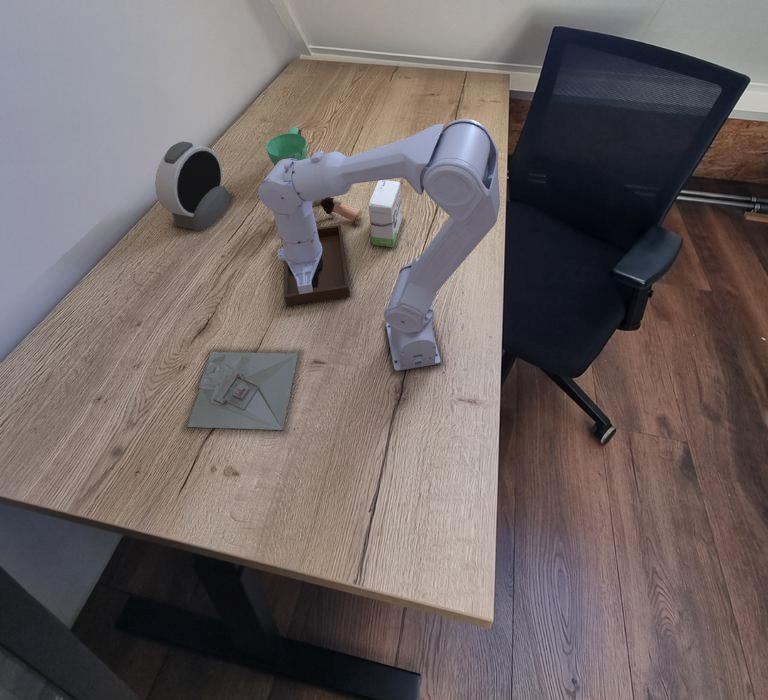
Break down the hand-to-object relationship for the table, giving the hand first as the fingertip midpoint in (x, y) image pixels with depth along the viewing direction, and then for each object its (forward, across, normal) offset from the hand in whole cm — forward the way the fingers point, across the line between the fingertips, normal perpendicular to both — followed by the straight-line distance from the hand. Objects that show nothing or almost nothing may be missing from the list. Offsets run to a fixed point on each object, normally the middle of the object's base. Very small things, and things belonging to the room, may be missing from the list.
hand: (311, 285), depth 79 cm
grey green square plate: (+10, +13, -18) cm, 24 cm away
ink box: (+10, -19, +16) cm, 27 cm away
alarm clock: (+10, -35, -26) cm, 45 cm away
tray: (+9, -12, 0) cm, 15 cm away
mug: (+10, -46, -4) cm, 47 cm away
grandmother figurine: (+8, -23, +11) cm, 27 cm away
